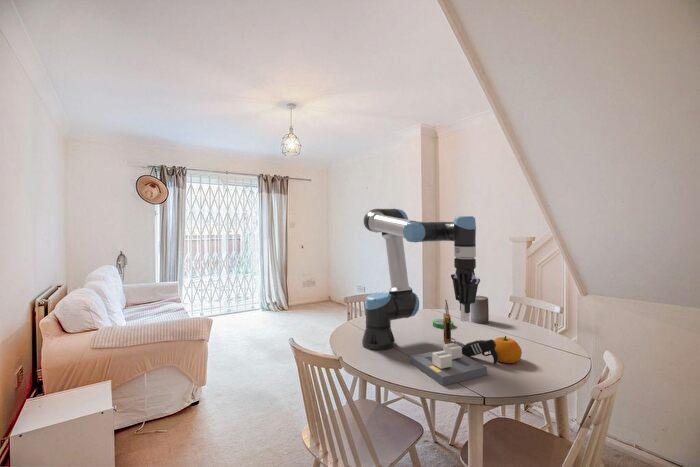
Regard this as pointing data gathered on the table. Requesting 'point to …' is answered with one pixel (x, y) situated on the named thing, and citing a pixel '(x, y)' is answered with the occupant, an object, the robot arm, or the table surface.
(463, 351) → the gun
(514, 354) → the fruit
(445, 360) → the tab
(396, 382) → the table surface
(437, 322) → the tape roll
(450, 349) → the tab
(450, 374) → the switch panel
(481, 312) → the pillar candle
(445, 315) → the brown upright pointed stick
